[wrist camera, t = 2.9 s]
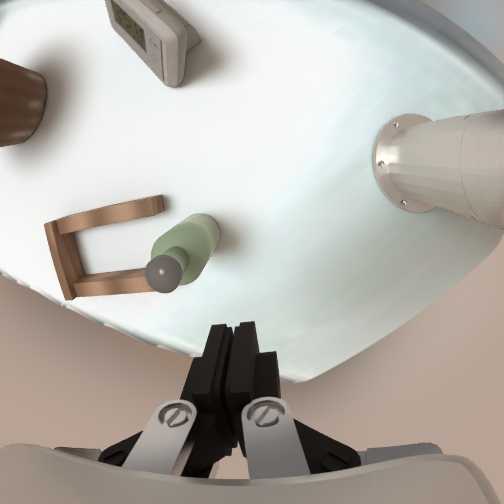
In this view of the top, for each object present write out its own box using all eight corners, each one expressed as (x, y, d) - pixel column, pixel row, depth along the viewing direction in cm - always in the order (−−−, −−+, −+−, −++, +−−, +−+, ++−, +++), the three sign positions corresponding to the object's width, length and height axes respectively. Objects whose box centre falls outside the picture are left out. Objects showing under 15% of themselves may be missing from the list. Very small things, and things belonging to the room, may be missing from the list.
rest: (161, 194, 34) (147, 199, 29) (178, 278, 37) (168, 293, 32) (62, 217, 35) (43, 224, 31) (81, 288, 38) (65, 300, 34)
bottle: (216, 210, 34) (186, 240, 20) (223, 250, 35) (199, 302, 22) (177, 216, 34) (126, 248, 21) (184, 255, 36) (142, 307, 22)
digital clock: (113, 23, 27) (74, -7, 16) (168, -10, 25) (143, -50, 15) (152, 104, 30) (111, 85, 20) (217, 68, 29) (199, 32, 19)
